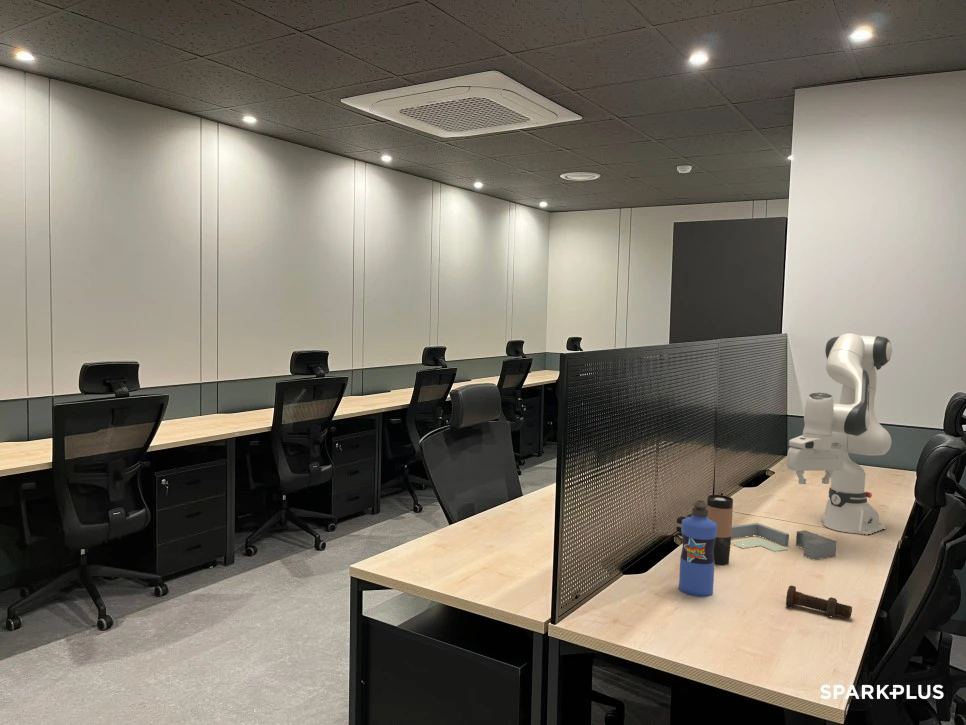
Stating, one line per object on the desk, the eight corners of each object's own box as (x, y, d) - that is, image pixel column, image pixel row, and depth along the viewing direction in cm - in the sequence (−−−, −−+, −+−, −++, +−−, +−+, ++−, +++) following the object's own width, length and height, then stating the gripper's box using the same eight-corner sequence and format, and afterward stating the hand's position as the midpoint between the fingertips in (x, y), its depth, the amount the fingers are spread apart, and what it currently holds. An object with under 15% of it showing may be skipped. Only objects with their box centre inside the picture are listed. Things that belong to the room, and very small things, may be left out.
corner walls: (756, 533, 244) (757, 522, 244) (788, 545, 232) (789, 534, 231) (719, 539, 237) (719, 527, 236) (749, 551, 224) (750, 539, 224)
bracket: (804, 544, 234) (805, 530, 233) (835, 556, 223) (836, 541, 222) (783, 548, 229) (784, 533, 229) (813, 559, 218) (814, 544, 218)
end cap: (692, 540, 234) (693, 521, 233) (675, 535, 239) (676, 516, 239) (709, 535, 240) (710, 516, 240) (692, 530, 246) (693, 511, 245)
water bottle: (683, 581, 196) (687, 495, 195) (716, 588, 192) (721, 500, 190) (674, 591, 188) (679, 502, 187) (709, 599, 184) (714, 507, 182)
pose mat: (759, 538, 238) (759, 537, 238) (788, 549, 227) (788, 548, 227) (729, 543, 232) (729, 542, 232) (756, 554, 222) (756, 553, 221)
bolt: (849, 628, 174) (785, 610, 182) (852, 612, 177) (789, 596, 185) (850, 612, 171) (785, 595, 179) (853, 597, 174) (789, 581, 183)
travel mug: (729, 558, 217) (733, 496, 215) (729, 566, 209) (733, 502, 208) (704, 555, 219) (707, 493, 218) (703, 563, 212) (707, 499, 211)
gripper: (834, 440, 233) (831, 481, 234) (784, 440, 227) (781, 481, 228) (849, 444, 227) (846, 485, 228) (798, 443, 221) (795, 486, 222)
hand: (813, 483), depth 228 cm, fingers open, 8 cm apart
